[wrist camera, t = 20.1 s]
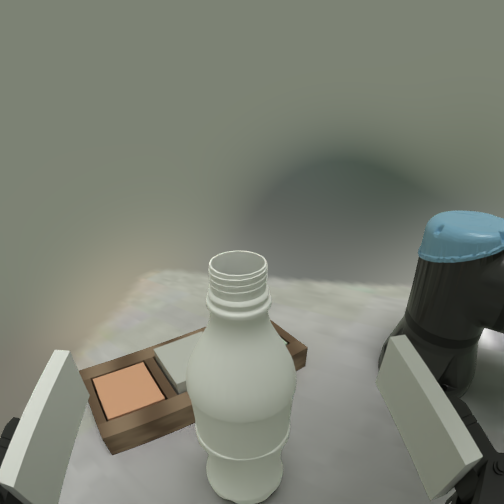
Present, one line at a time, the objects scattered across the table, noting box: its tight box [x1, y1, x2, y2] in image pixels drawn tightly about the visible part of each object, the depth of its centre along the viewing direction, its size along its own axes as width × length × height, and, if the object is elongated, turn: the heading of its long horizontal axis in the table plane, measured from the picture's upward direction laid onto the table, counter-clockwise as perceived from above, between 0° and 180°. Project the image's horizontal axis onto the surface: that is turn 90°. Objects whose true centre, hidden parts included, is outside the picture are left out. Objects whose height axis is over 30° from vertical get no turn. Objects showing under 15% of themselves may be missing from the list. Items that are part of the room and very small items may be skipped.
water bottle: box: [186, 251, 296, 504], centre depth 22 cm, size 7×7×25 cm
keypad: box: [79, 320, 308, 455], centre depth 40 cm, size 28×12×4 cm, turn 125°
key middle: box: [153, 331, 203, 395], centre depth 39 cm, size 7×7×3 cm
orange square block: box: [93, 362, 165, 421], centre depth 35 cm, size 7×7×3 cm
